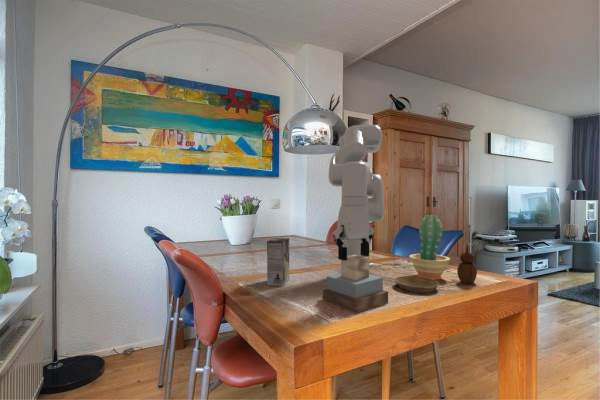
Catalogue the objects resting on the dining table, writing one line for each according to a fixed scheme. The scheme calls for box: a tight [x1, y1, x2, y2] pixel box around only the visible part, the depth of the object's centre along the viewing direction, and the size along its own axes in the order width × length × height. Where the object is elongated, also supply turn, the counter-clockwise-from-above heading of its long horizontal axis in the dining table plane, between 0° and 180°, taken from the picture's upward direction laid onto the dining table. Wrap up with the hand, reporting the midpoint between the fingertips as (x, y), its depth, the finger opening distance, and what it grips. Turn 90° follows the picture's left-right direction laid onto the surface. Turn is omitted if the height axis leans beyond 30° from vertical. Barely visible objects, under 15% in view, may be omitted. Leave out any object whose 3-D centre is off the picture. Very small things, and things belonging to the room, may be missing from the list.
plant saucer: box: [394, 275, 440, 294], centre depth 109 cm, size 15×15×3 cm
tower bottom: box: [322, 287, 389, 314], centre depth 94 cm, size 14×14×4 cm
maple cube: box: [340, 255, 370, 280], centre depth 95 cm, size 6×6×6 cm
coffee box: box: [266, 237, 290, 287], centre depth 115 cm, size 9×6×16 cm
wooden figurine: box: [456, 243, 478, 284], centre depth 116 cm, size 7×6×15 cm
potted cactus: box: [409, 214, 451, 281], centre depth 124 cm, size 15×15×25 cm
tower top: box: [326, 272, 384, 299], centre depth 95 cm, size 12×12×4 cm
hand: (354, 257), depth 95 cm, fingers open, 9 cm apart
